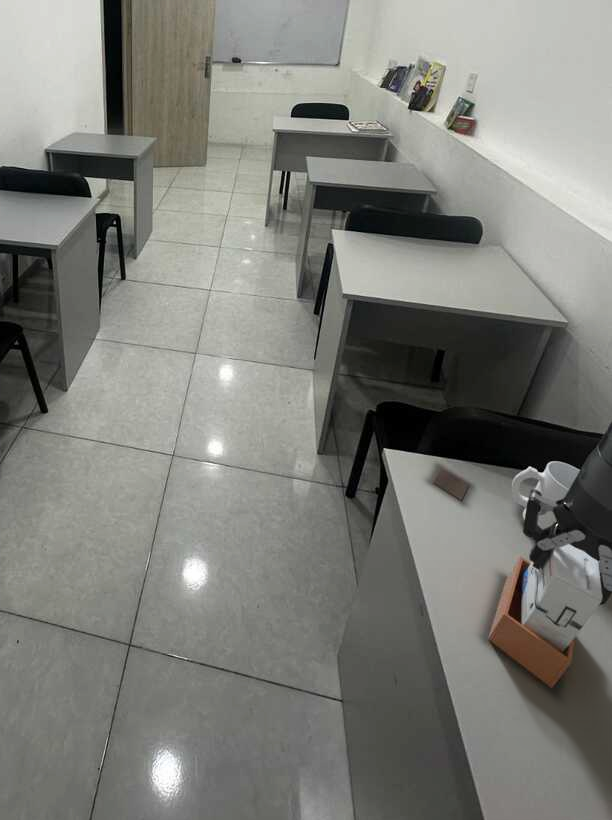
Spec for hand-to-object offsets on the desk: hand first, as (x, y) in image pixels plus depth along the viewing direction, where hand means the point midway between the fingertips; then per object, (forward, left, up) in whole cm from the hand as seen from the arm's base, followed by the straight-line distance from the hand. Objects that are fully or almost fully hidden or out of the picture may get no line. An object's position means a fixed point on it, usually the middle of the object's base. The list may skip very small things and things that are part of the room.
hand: (562, 579), depth 64 cm
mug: (+3, -22, -12) cm, 25 cm away
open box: (0, 0, -12) cm, 12 cm away
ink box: (0, 0, -8) cm, 8 cm away
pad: (+15, -18, -12) cm, 27 cm away
